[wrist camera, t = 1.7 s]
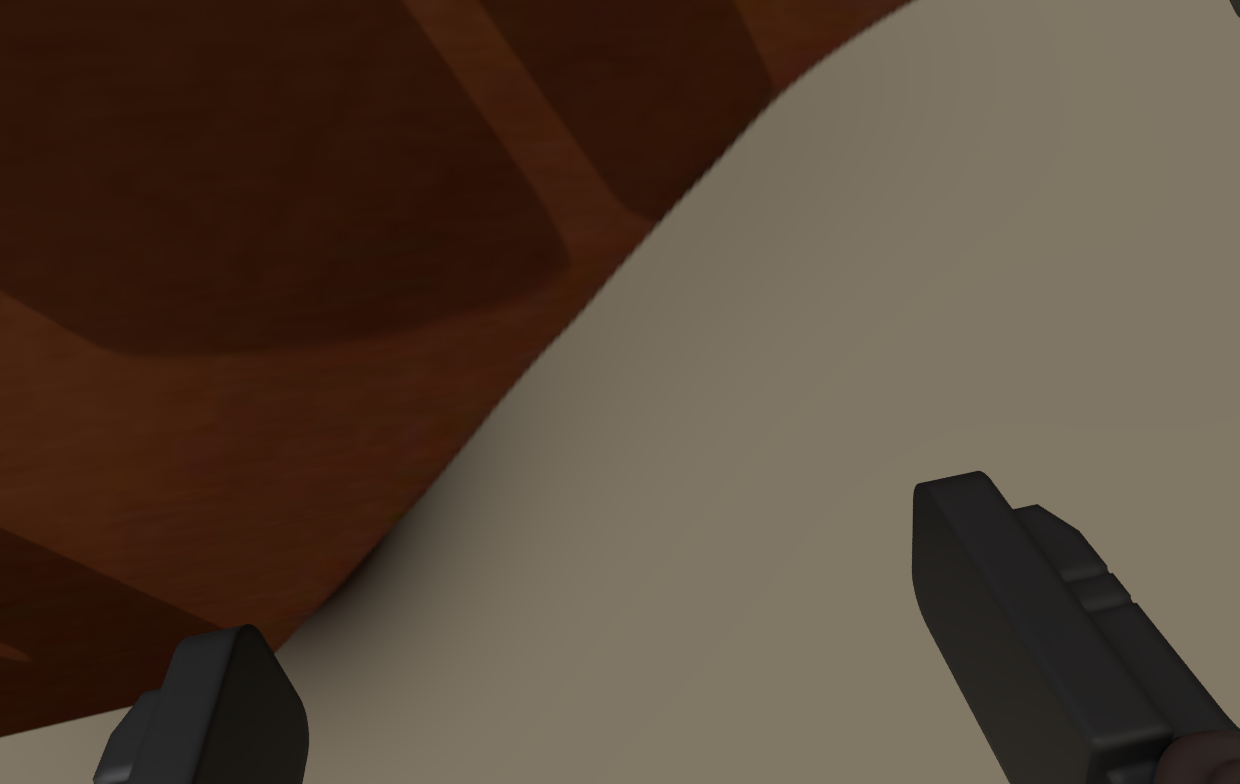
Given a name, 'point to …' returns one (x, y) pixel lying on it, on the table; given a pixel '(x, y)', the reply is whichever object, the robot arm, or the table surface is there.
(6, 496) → the table surface
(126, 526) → the table surface
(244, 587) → the table surface
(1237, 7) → the water bottle
